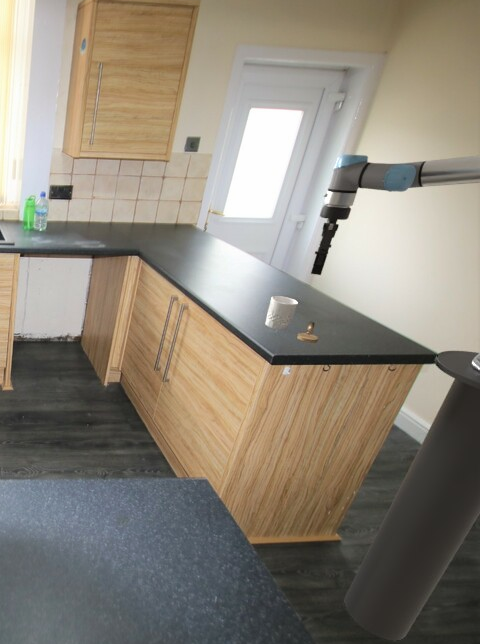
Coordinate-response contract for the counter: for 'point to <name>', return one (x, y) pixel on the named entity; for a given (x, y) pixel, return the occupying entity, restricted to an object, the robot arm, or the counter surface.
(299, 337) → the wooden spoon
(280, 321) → the white cup
